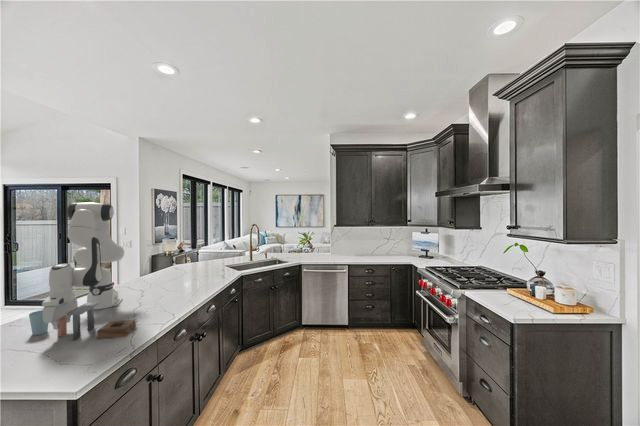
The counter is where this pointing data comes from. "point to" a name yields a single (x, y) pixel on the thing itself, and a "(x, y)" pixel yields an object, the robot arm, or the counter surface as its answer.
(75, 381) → the counter surface
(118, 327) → the socket
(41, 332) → the cup
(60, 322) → the peg
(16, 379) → the counter surface
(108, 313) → the counter surface
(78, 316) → the grey u-shaped bracket
